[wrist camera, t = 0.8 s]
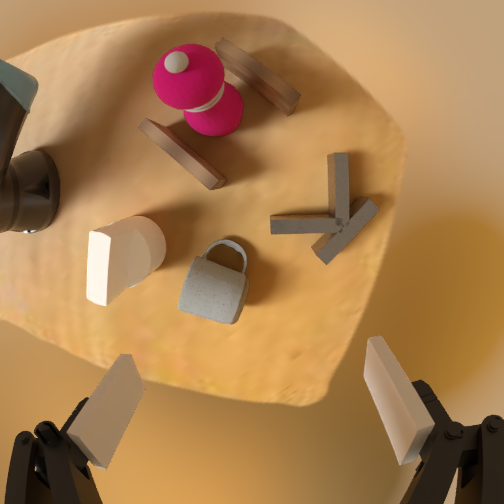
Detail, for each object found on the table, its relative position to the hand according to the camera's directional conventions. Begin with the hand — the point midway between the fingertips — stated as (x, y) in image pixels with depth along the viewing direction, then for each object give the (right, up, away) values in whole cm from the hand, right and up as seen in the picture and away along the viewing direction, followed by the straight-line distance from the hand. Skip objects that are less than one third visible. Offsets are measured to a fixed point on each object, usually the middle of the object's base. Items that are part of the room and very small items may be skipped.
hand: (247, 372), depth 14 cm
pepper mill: (-4, +25, +21) cm, 33 cm away
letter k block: (+9, +13, +23) cm, 28 cm away
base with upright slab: (-17, +7, +26) cm, 32 cm away
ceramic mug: (-4, +3, +27) cm, 27 cm away
